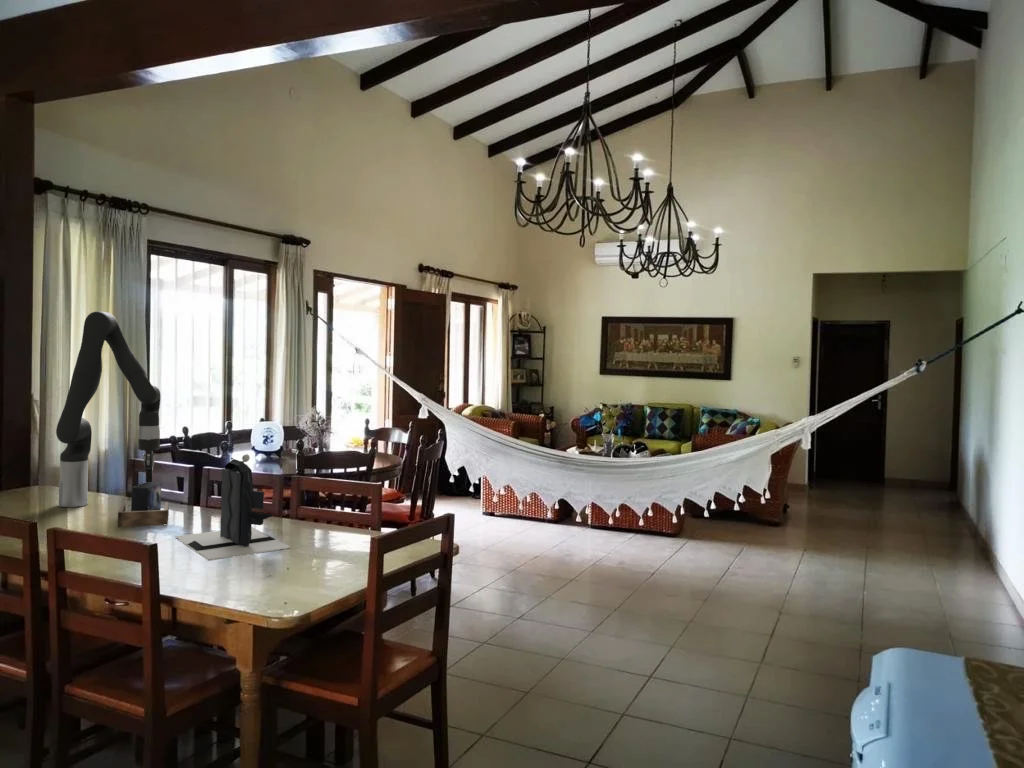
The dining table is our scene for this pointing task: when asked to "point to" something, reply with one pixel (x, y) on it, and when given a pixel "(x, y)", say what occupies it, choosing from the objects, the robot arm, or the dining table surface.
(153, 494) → the small box
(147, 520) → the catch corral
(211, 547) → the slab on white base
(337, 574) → the dining table surface
